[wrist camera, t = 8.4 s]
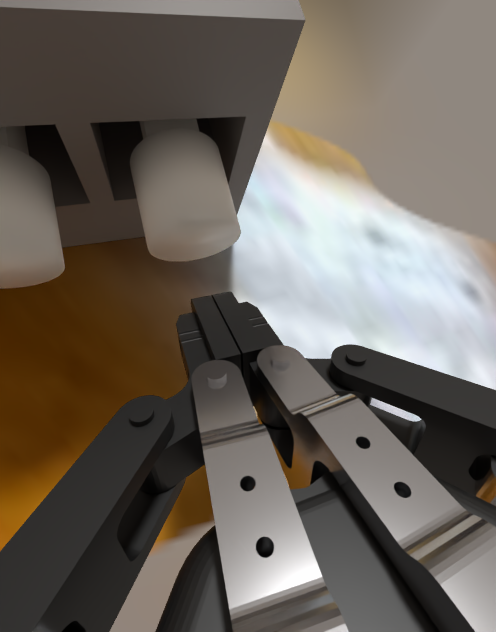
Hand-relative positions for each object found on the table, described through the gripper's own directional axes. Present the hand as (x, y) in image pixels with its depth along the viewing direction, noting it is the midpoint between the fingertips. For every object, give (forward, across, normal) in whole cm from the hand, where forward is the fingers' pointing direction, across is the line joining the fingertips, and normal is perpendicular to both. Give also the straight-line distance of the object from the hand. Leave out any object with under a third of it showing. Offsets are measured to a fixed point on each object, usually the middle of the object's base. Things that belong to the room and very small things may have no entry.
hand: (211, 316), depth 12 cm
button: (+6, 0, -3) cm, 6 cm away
